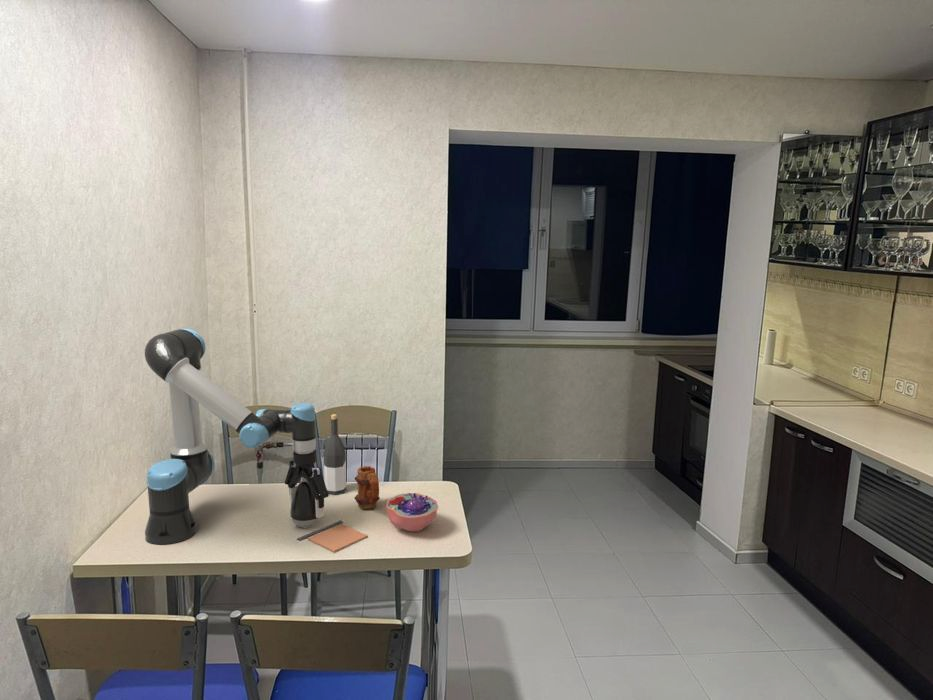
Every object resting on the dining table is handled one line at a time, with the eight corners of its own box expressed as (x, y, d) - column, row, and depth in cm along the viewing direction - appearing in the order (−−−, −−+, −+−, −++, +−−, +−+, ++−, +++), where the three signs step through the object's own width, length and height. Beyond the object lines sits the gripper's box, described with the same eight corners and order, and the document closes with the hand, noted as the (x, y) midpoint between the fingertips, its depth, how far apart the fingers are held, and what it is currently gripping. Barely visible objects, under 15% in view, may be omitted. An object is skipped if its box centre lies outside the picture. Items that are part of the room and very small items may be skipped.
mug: (352, 503, 238) (351, 464, 235) (373, 500, 241) (373, 461, 239) (365, 519, 225) (364, 478, 222) (387, 515, 229) (387, 474, 226)
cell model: (428, 512, 232) (428, 481, 230) (443, 536, 213) (444, 504, 211) (381, 517, 227) (380, 486, 225) (392, 543, 208) (392, 510, 206)
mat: (307, 540, 209) (307, 538, 209) (341, 525, 220) (341, 523, 220) (334, 552, 201) (334, 551, 201) (367, 537, 212) (367, 535, 212)
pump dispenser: (320, 530, 216) (318, 487, 213) (288, 531, 215) (286, 487, 212) (324, 517, 226) (323, 475, 223) (293, 517, 225) (292, 476, 222)
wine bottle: (324, 487, 252) (323, 412, 247) (346, 486, 254) (344, 411, 248) (324, 495, 244) (322, 418, 239) (346, 494, 246) (345, 417, 240)
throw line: (297, 539, 209) (296, 538, 209) (340, 521, 223) (340, 520, 223) (299, 541, 208) (299, 539, 208) (343, 522, 222) (343, 521, 222)
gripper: (338, 455, 211) (340, 517, 215) (291, 440, 226) (293, 497, 230) (319, 461, 205) (321, 525, 209) (272, 445, 221) (275, 504, 224)
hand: (307, 511), depth 220 cm, fingers open, 13 cm apart
